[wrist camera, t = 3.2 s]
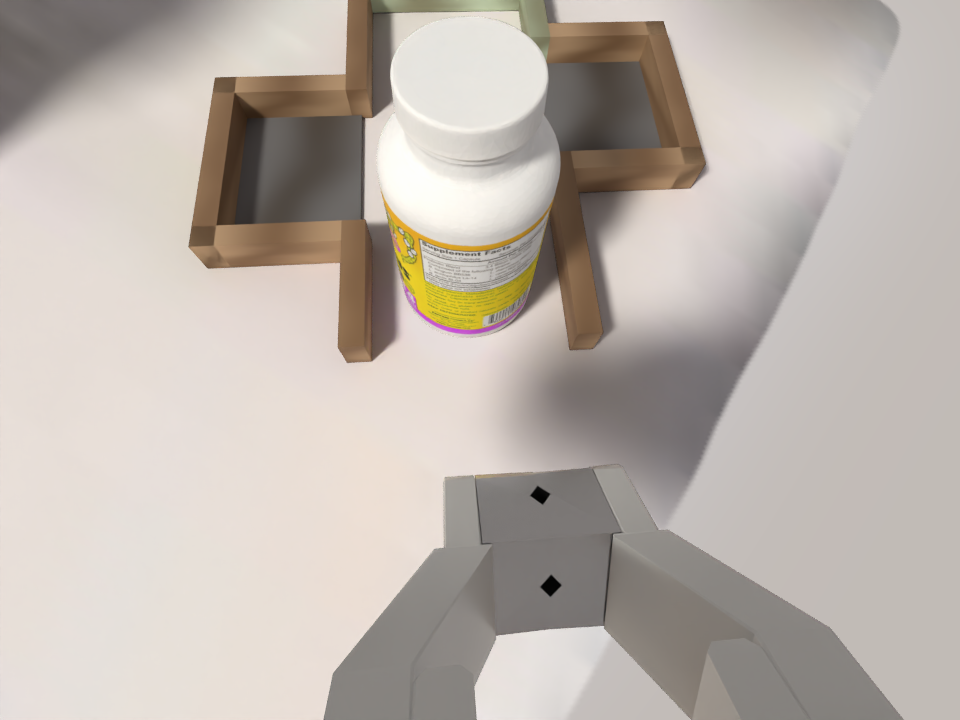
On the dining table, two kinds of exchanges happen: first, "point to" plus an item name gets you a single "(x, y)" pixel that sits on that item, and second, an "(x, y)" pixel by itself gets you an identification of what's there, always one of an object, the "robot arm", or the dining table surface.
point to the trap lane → (338, 154)
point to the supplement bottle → (468, 171)
